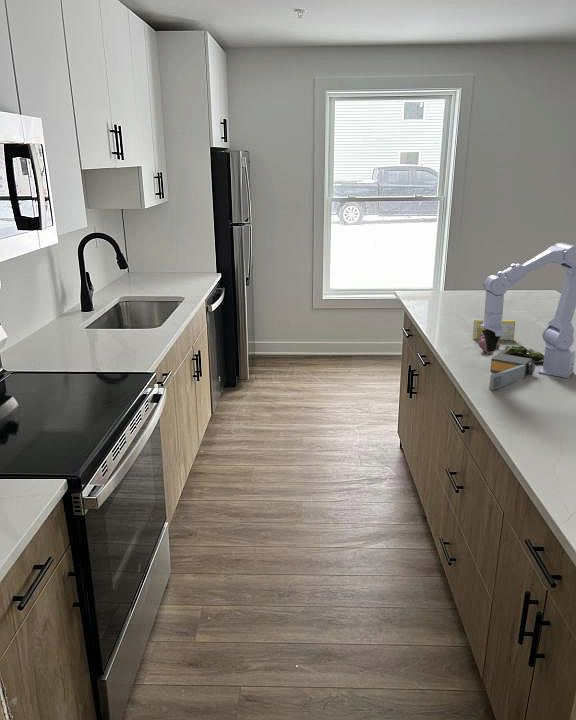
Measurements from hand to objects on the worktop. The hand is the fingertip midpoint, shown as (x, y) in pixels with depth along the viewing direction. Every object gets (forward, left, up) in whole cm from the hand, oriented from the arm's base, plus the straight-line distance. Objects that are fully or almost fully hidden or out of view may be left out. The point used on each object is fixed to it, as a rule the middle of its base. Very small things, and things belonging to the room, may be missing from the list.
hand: (490, 351), depth 200 cm
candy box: (+15, -44, -10) cm, 48 cm away
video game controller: (+11, -29, -10) cm, 32 cm away
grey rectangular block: (-4, -8, -9) cm, 13 cm away
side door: (-8, +4, -9) cm, 13 cm away
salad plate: (-3, -25, -10) cm, 27 cm away
